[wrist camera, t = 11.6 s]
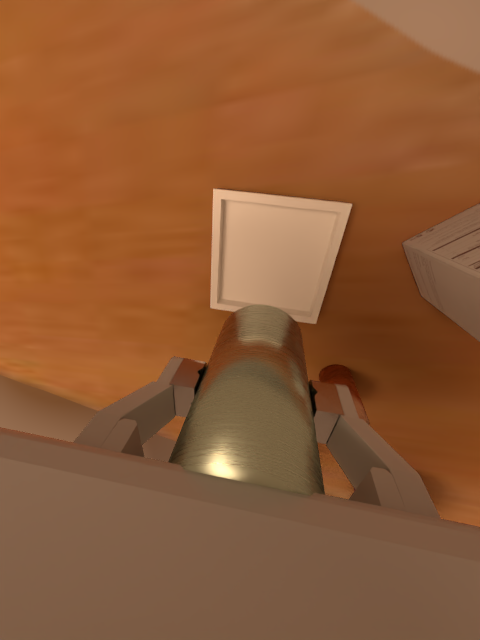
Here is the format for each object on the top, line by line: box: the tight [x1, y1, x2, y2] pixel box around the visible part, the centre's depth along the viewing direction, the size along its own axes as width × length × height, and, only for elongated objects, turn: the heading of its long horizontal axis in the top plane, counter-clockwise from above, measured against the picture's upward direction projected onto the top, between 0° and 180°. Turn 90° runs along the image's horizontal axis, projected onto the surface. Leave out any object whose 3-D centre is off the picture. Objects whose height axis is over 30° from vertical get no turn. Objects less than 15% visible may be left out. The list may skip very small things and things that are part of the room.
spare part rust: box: [319, 365, 369, 425], centre depth 31 cm, size 4×4×8 cm
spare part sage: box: [169, 304, 325, 496], centre depth 10 cm, size 4×4×8 cm
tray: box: [210, 188, 352, 324], centre depth 26 cm, size 13×13×2 cm
